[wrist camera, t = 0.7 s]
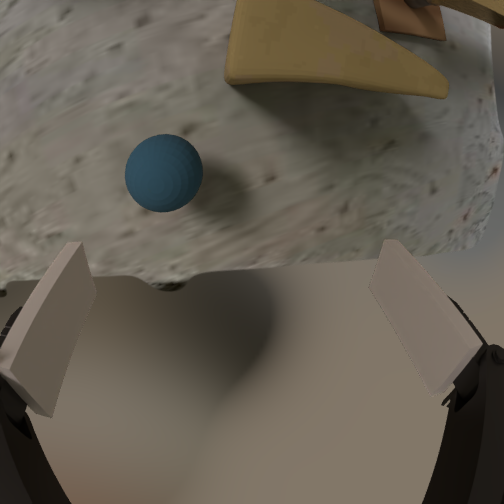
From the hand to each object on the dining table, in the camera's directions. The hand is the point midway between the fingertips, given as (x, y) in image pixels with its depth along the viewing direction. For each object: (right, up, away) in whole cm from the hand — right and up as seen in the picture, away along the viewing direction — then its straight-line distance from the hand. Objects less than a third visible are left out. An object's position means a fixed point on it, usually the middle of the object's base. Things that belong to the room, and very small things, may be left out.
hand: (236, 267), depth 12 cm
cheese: (+9, +25, +19) cm, 32 cm away
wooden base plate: (+23, +37, +12) cm, 46 cm away
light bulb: (-10, +13, +24) cm, 29 cm away
